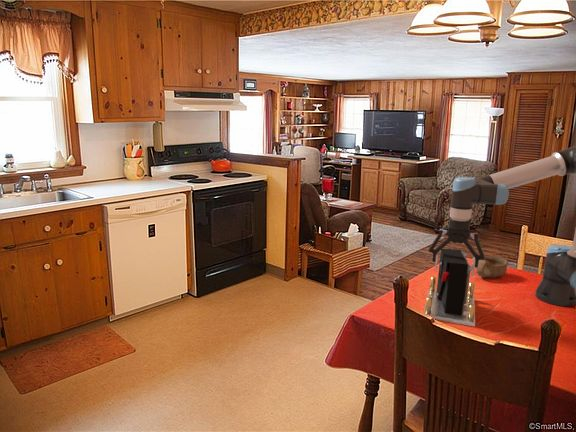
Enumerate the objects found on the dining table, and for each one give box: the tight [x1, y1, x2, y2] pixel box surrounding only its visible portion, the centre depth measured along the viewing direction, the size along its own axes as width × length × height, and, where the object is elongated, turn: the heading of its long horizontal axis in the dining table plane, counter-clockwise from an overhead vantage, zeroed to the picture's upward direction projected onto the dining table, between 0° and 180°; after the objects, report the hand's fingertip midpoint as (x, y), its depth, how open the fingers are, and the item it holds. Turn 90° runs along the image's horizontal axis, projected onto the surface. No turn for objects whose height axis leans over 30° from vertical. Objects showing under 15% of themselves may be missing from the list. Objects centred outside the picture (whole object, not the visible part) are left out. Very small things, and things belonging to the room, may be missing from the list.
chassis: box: [423, 276, 476, 327], centre depth 176 cm, size 18×26×8 cm
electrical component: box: [436, 248, 473, 315], centre depth 174 cm, size 18×10×20 cm, turn 168°
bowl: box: [475, 255, 509, 278], centre depth 211 cm, size 18×14×10 cm
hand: (453, 272), depth 174 cm, fingers open, 13 cm apart
